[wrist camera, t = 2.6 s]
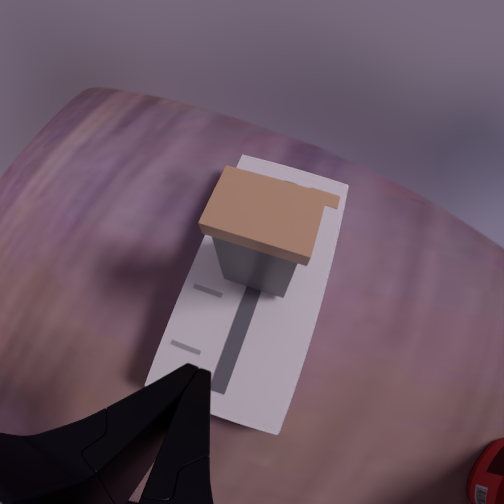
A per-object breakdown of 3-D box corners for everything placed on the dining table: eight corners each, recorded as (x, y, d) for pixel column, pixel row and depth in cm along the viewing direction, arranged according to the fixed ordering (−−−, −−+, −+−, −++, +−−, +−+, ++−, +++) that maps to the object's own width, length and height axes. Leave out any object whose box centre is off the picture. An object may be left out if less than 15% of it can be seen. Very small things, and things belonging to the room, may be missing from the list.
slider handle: (289, 301, 19) (310, 257, 12) (217, 278, 19) (198, 223, 12) (302, 256, 20) (327, 194, 13) (234, 235, 20) (226, 165, 13)
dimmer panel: (275, 427, 18) (278, 435, 16) (156, 384, 19) (144, 385, 17) (341, 201, 25) (348, 184, 23) (243, 172, 26) (242, 154, 24)
